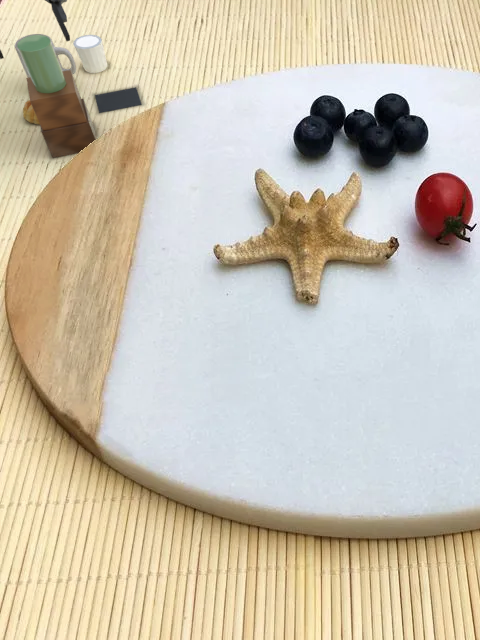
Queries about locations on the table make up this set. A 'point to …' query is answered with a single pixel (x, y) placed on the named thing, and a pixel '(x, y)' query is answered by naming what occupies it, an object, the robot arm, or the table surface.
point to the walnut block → (63, 118)
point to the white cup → (91, 53)
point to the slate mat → (118, 100)
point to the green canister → (42, 63)
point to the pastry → (30, 113)
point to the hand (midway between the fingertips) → (35, 47)
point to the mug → (58, 52)
